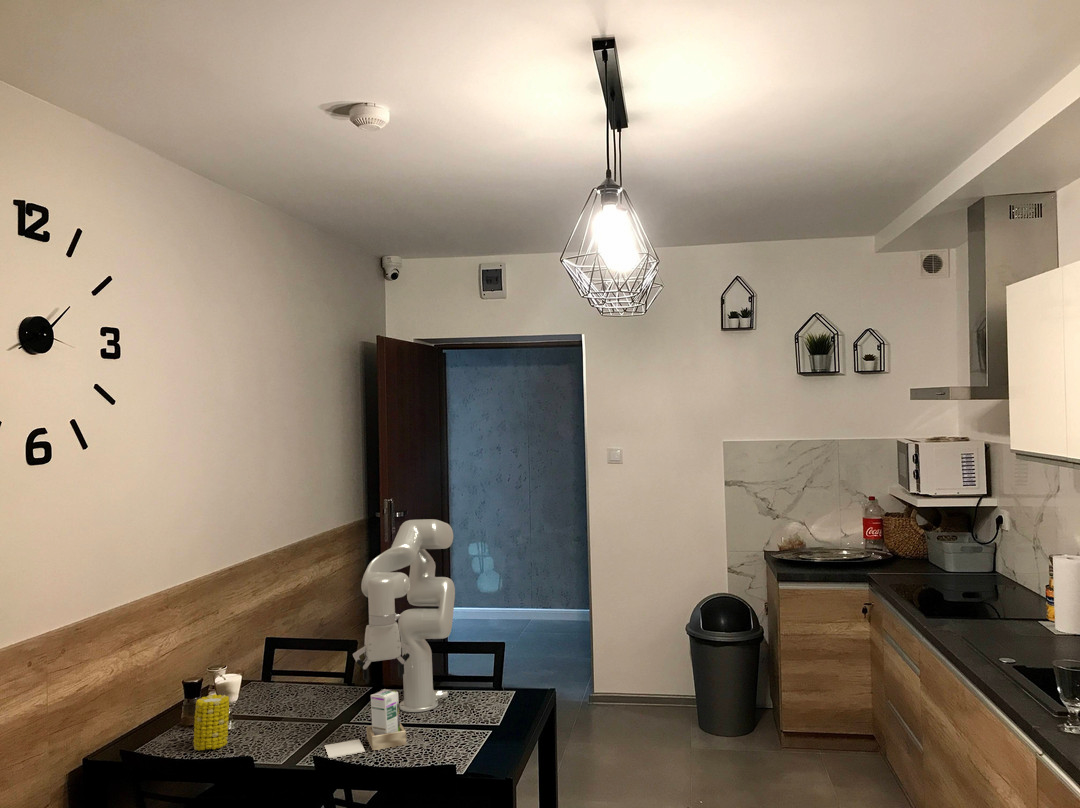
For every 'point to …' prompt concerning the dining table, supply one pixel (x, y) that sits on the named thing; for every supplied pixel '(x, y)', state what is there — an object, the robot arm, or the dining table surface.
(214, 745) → the food
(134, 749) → the dining table surface
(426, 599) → the robot arm
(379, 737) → the wooden tray
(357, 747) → the plate
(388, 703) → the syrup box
